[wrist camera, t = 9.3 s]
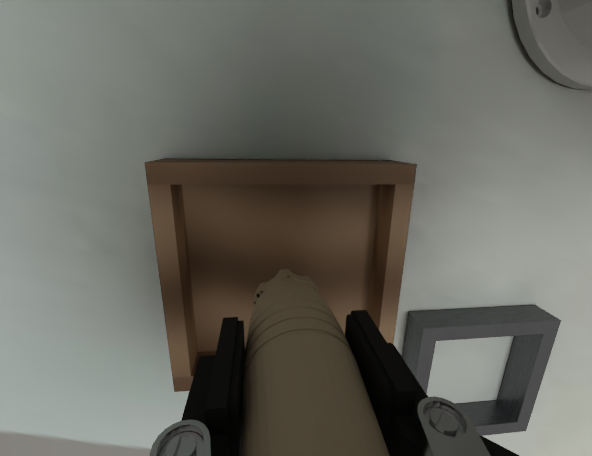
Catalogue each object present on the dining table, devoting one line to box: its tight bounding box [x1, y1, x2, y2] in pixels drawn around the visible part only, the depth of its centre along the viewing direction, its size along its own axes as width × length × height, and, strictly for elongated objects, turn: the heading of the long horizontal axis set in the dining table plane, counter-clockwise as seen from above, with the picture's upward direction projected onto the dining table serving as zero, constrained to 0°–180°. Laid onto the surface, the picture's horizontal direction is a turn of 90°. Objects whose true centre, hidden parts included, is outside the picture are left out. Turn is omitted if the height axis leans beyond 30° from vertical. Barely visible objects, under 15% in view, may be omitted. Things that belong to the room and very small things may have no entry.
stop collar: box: [402, 305, 561, 436], centre depth 22 cm, size 10×10×2 cm
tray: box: [145, 158, 417, 392], centre depth 17 cm, size 13×13×3 cm
